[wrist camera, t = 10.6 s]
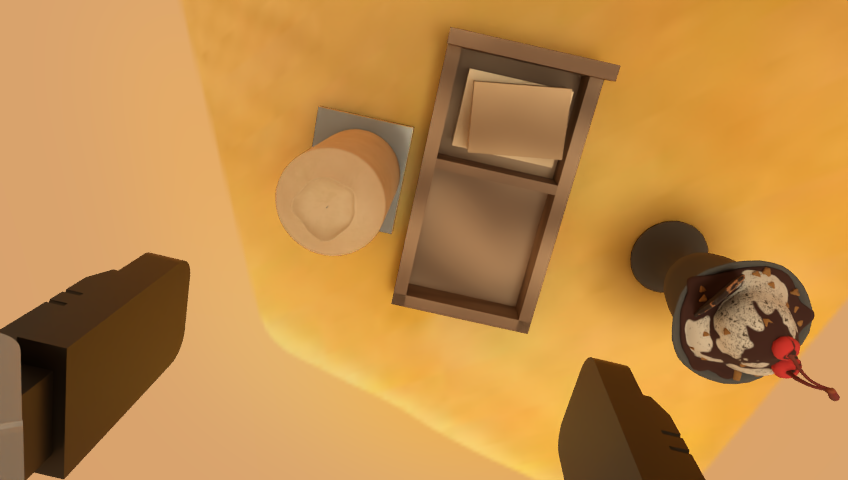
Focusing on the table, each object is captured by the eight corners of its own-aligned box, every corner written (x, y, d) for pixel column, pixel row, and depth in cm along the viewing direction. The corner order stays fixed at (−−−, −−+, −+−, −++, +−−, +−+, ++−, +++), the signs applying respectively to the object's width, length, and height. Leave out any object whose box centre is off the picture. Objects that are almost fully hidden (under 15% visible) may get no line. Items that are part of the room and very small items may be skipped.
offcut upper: (473, 80, 33) (474, 81, 31) (566, 87, 33) (572, 89, 31) (467, 147, 34) (467, 152, 32) (556, 154, 34) (561, 160, 32)
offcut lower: (469, 67, 35) (469, 68, 33) (566, 89, 35) (573, 92, 33) (452, 139, 36) (452, 145, 34) (546, 160, 36) (552, 167, 34)
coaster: (320, 105, 36) (318, 106, 36) (414, 127, 36) (413, 128, 36) (303, 211, 38) (301, 213, 38) (392, 231, 39) (391, 234, 38)
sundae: (719, 300, 39) (872, 441, 24) (616, 306, 39) (708, 447, 25) (726, 204, 37) (897, 296, 23) (618, 211, 37) (718, 306, 23)
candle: (394, 220, 38) (374, 274, 28) (310, 206, 38) (262, 255, 28) (406, 135, 36) (389, 162, 26) (319, 121, 36) (270, 143, 26)
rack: (451, 31, 35) (450, 26, 30) (597, 64, 35) (620, 65, 30) (395, 289, 40) (386, 320, 35) (523, 317, 40) (532, 352, 35)
